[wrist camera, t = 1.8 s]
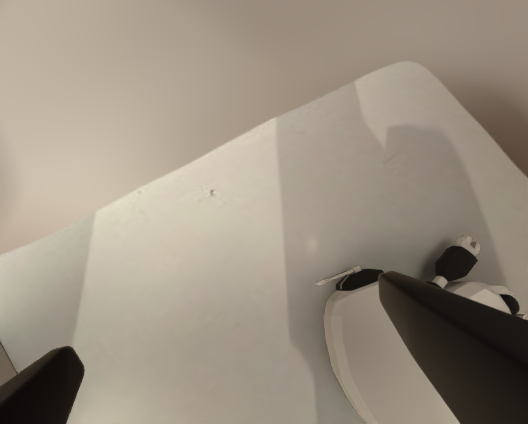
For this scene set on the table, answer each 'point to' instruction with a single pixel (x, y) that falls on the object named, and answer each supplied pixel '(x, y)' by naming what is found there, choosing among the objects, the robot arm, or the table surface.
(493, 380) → the robot arm
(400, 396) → the robot toy
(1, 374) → the icon cube
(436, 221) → the table surface
